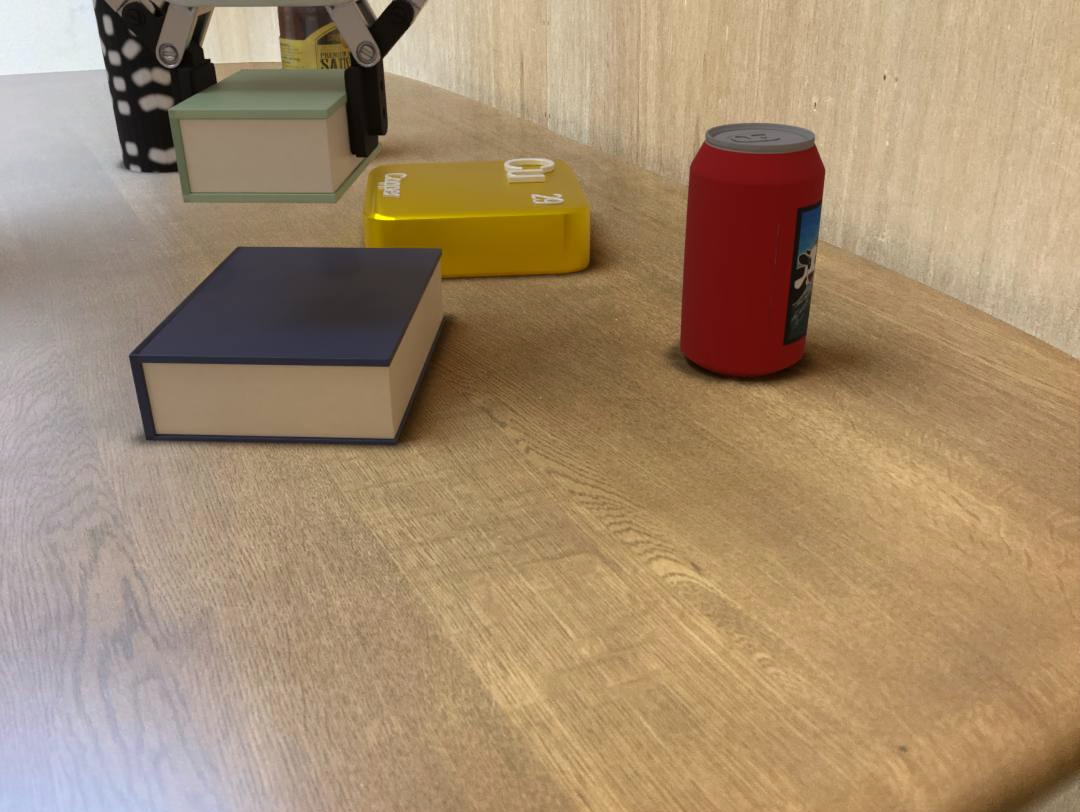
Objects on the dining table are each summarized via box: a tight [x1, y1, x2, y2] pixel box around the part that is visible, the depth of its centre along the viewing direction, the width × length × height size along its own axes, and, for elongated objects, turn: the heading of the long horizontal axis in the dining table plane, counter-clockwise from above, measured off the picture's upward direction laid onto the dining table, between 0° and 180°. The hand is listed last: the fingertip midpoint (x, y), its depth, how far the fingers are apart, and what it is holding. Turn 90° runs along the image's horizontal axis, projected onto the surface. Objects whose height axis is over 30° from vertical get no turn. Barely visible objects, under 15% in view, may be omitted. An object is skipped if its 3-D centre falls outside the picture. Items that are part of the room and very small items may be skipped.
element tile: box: [361, 157, 591, 279], centre depth 80 cm, size 15×15×5 cm
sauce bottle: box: [276, 6, 351, 69], centre depth 100 cm, size 7×6×20 cm
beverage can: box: [679, 122, 826, 378], centre depth 59 cm, size 7×7×12 cm
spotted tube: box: [91, 0, 179, 174], centre depth 100 cm, size 8×8×20 cm
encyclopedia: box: [128, 245, 447, 446], centre depth 60 cm, size 12×17×4 cm
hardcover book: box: [168, 68, 383, 204], centre depth 55 cm, size 11×7×4 cm, turn 176°
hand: (287, 148), depth 55 cm, fingers closed on hardcover book, 7 cm apart
